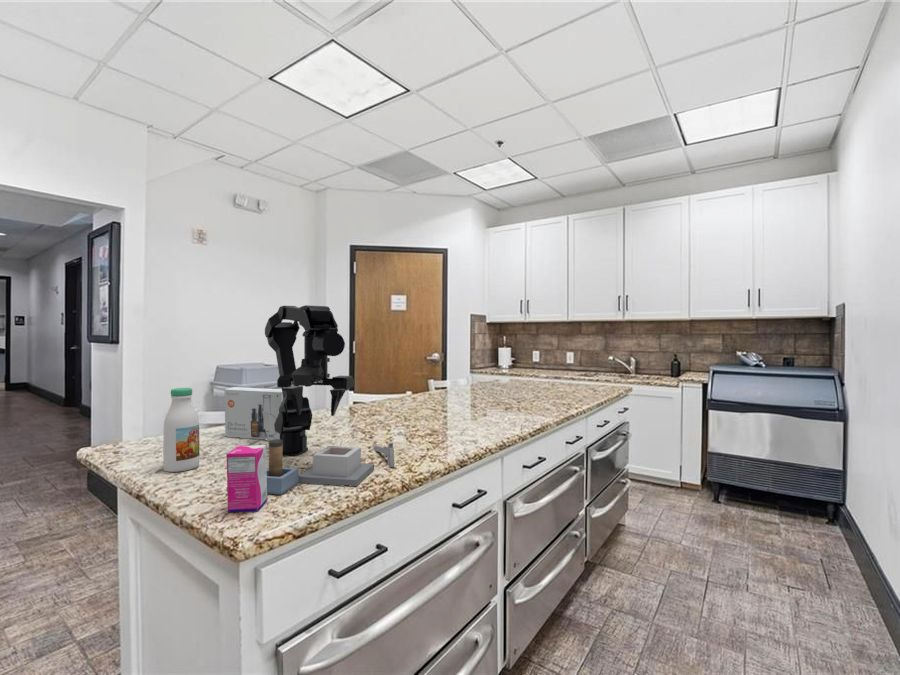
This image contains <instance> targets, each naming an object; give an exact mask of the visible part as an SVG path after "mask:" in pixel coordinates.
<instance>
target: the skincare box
mask: <svg viewBox="0 0 900 675" xmlns="http://www.w3.org/2000/svg"><path fill="white" fill-rule="evenodd" d="M282 401H283V394H282V388H281V389H280V388H263V387H262V388H261V387H260V388H259V387H256V388H255V387H243V386H237V387H236V386H232V387H229V388H225V389H224V428H225V430H224V434H225V436H227V437H226V438H235V437H240V438H239V439H247V438H254V439H253V440H259V439H267V440H266V441H270V440H274V439H280V434H279V433H277V432H275V427H274V423H275V421H276V419H277V417H278V414H279V407H280V405H281V403H282Z"/></svg>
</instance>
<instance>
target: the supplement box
mask: <svg viewBox="0 0 900 675" xmlns="http://www.w3.org/2000/svg"><path fill="white" fill-rule="evenodd" d="M226 483H227V484H226V485H227V486H226V487H227V494H226V495H227V512H228V513H245V512H246V513H247V512H249V513H251V512H252V511H253V512H255V511H256V512H259V511H260V509H261V508H262V507H263V506H264V505H265V504H266V502H268V494H267V445H266V444H260V445H259V444H256V445H237V446H236V447H235V448H233V449H232V450H231V451H229V452H227V453H226ZM256 512H255V513H256Z"/></svg>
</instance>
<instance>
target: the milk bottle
mask: <svg viewBox="0 0 900 675" xmlns="http://www.w3.org/2000/svg"><path fill="white" fill-rule="evenodd" d="M192 398H193V388H191V387H178V388H177V387H176V388H172V389H171V390H170V399H171V404H170V407H169V409H168V411H167V413H166V414H165V417H164V420H163V436H162V438H163V440H162V441H163V442H162V444H163V447H162V448H163V449H162V450H163V452H162V453H163V457H162V458H163V459H162V460H163V462H162V463H163V464H162V466H163V470H164V471H165V472H167V473H179V472H186V471H190V470H193V469H194V470H195V469H196V468H198V467H199V465H200V420H199V419H200V418H199V415H198V413H197V411H196V409H195V407H194V405H193V401H192Z"/></svg>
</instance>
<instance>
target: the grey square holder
mask: <svg viewBox="0 0 900 675" xmlns="http://www.w3.org/2000/svg"><path fill="white" fill-rule="evenodd" d="M373 470H374V471H375V464H374V463H363V462H362V447H360V446H359V447H358V446H343V445H342V446H339V445H337V446H336V445H327V446H326V447H325V448H323V449H321V450H319V451H318V452H316V453H314V454H312V467H310V468H308V469H307V470H305V471H303V472H302V473H301V474H299V484H306V483H310V484H309V485H321V484H329V485H328V486H336V485H351V486H357V485H358V484H359V483H360V482H361V481H362V480H363V479H364V478H365V477H366V476H367V475H368V474H369V475H371V474H372V473H373V472H374V471H373ZM369 475H368V476H369ZM368 476H367V477H368ZM367 477H366V478H367ZM366 478H365V479H366ZM365 479H364V480H365ZM364 480H363V481H364ZM363 481H362V482H363ZM362 482H361V483H362ZM361 483H360V484H361ZM360 484H359V485H360ZM359 485H358V486H359ZM351 486H350V487H351ZM358 486H357V487H358Z"/></svg>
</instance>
